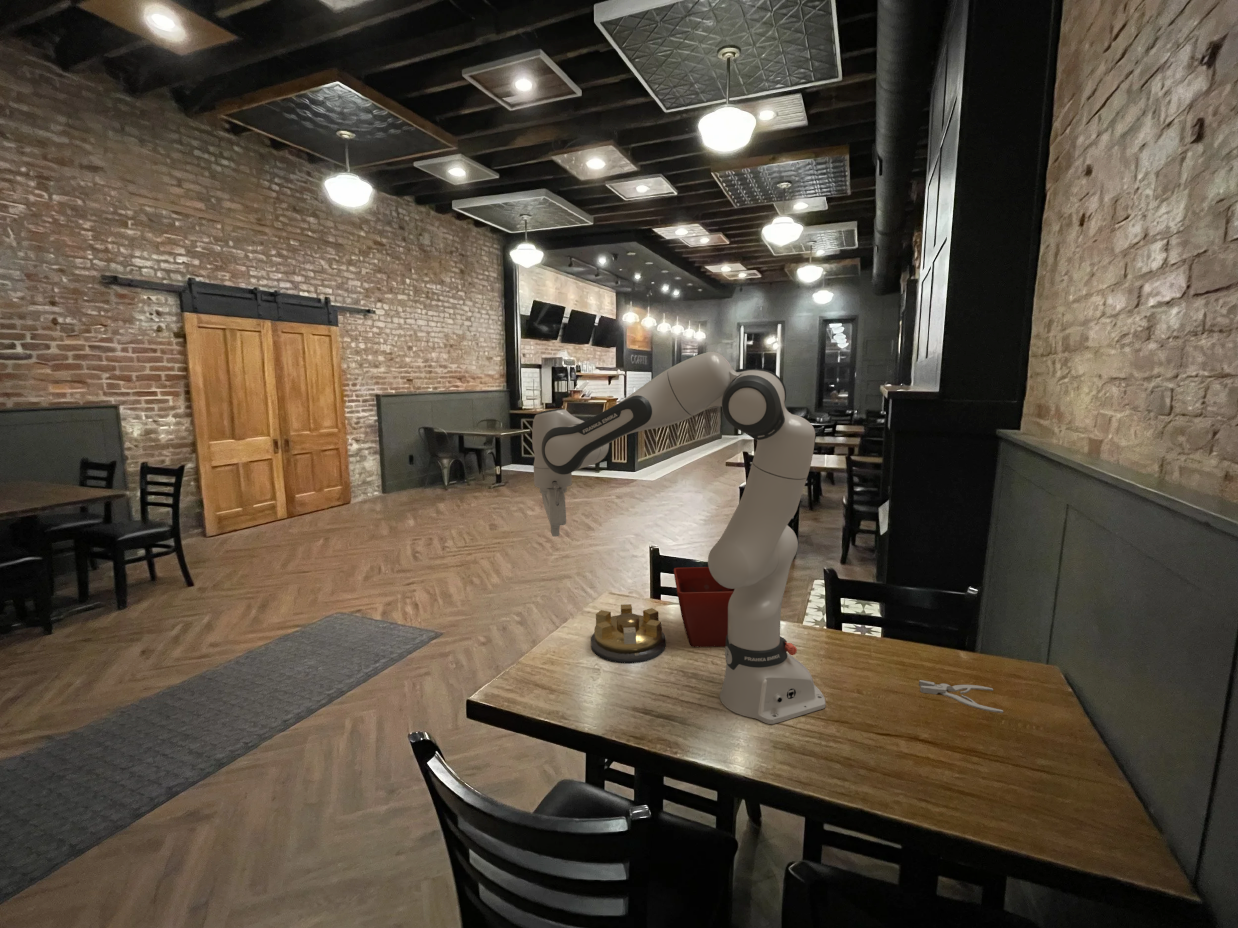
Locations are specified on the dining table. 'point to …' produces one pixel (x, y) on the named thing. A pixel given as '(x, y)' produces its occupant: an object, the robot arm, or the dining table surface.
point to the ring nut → (628, 630)
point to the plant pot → (702, 606)
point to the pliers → (941, 688)
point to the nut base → (628, 656)
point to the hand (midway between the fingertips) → (555, 534)
